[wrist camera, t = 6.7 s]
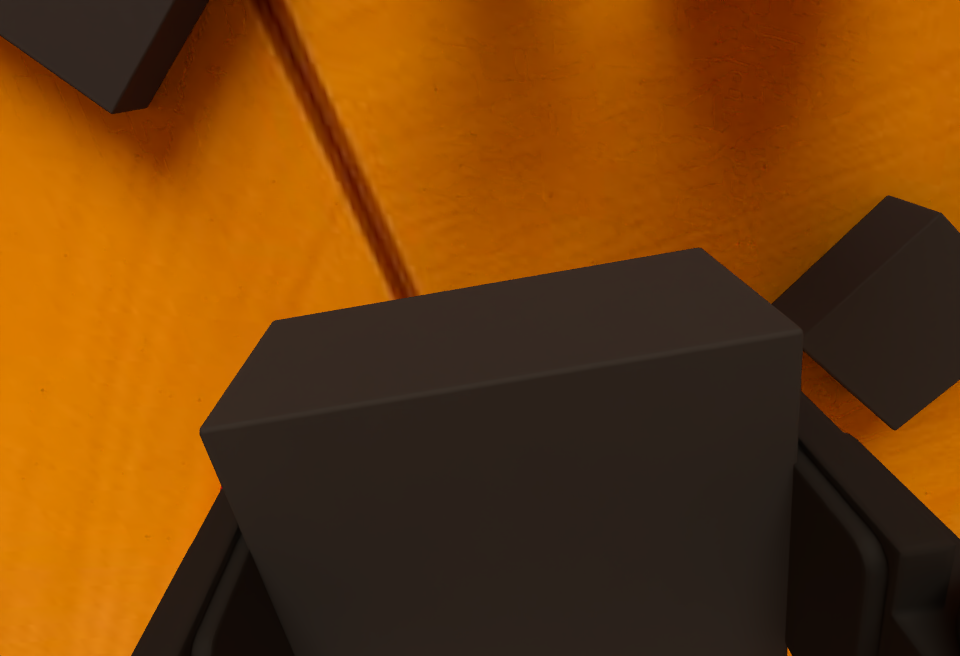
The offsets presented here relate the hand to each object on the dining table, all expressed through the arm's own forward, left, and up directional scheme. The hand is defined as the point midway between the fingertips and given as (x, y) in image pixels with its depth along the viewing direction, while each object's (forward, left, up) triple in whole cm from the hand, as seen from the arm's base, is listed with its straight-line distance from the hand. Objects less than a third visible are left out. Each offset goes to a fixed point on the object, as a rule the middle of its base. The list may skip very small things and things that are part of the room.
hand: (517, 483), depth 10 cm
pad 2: (-8, +15, -16) cm, 23 cm away
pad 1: (0, 0, -1) cm, 1 cm away
